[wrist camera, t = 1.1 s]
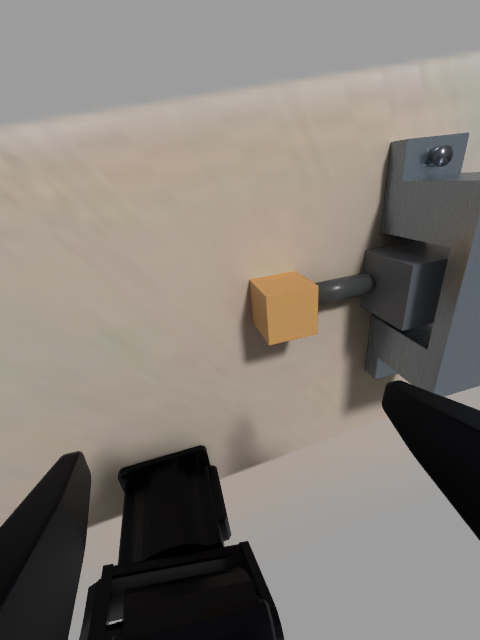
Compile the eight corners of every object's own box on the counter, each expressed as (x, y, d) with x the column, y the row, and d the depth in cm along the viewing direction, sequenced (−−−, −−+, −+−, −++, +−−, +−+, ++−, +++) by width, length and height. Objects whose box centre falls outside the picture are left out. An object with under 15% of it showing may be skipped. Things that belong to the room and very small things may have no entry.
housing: (365, 370, 24) (425, 424, 18) (391, 141, 16) (503, 122, 11) (407, 359, 24) (476, 407, 19) (449, 135, 17) (580, 115, 12)
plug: (253, 329, 19) (276, 362, 16) (248, 271, 17) (272, 294, 14) (419, 292, 22) (470, 313, 18) (429, 238, 20) (488, 250, 16)
